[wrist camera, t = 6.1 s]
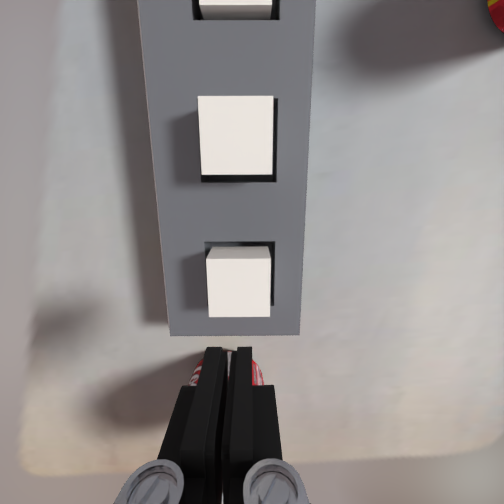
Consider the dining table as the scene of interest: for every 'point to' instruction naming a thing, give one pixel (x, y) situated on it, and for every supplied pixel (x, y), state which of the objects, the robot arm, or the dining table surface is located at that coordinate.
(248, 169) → the button middle
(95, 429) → the dining table surface
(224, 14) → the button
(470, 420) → the dining table surface
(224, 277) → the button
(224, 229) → the switch console
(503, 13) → the beverage can
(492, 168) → the dining table surface
